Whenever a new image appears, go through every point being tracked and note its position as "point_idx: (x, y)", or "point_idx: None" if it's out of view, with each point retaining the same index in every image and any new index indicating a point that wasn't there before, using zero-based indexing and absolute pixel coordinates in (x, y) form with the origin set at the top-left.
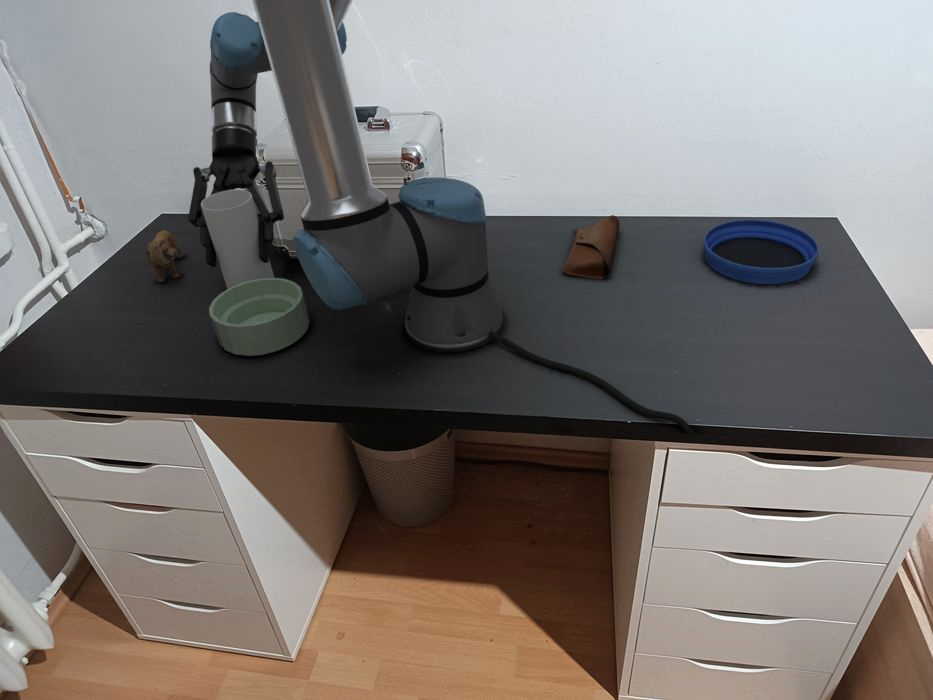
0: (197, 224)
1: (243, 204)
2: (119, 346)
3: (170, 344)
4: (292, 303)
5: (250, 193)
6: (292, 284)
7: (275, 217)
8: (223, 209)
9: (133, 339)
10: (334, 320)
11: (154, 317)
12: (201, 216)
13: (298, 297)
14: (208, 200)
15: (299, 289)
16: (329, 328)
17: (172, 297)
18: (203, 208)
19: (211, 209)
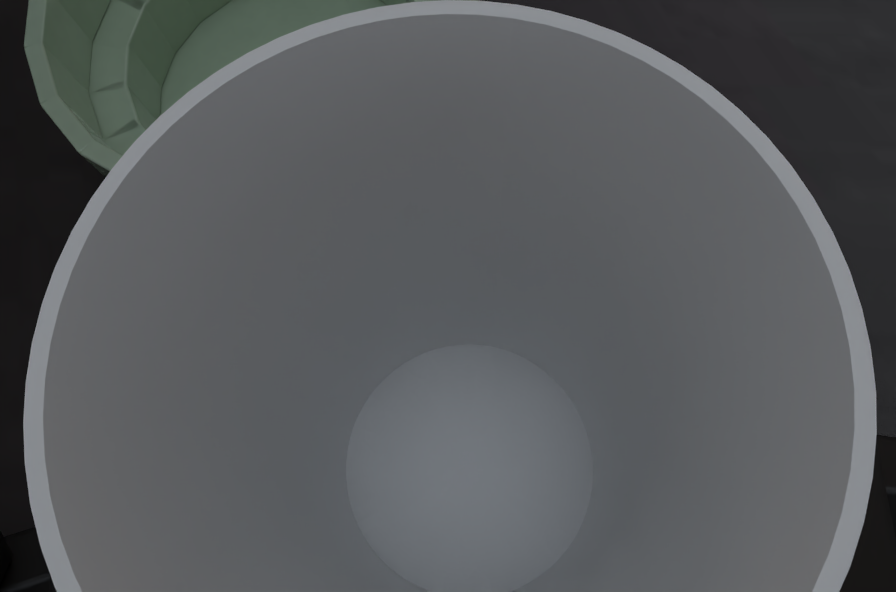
0: (884, 441)
1: (117, 170)
2: (887, 23)
3: (670, 34)
4: (140, 132)
5: (59, 581)
6: (84, 128)
7: (15, 533)
8: (364, 18)
9: (857, 65)
10: (22, 176)
11: (870, 219)
12: (875, 475)
13: (41, 15)
14: (817, 470)
15: (42, 80)
16: (41, 124)
17: (891, 398)
18: (697, 82)
19: (753, 483)
